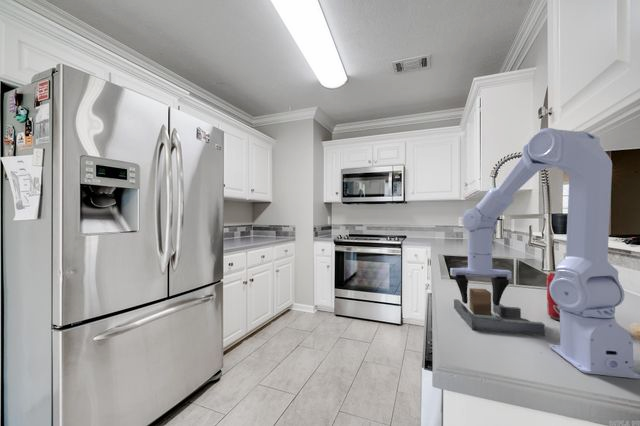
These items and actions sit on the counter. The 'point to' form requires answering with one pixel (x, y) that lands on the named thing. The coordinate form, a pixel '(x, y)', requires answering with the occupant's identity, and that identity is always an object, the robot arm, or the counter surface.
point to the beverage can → (551, 305)
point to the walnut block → (480, 301)
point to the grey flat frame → (500, 321)
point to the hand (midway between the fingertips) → (480, 303)
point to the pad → (483, 315)
